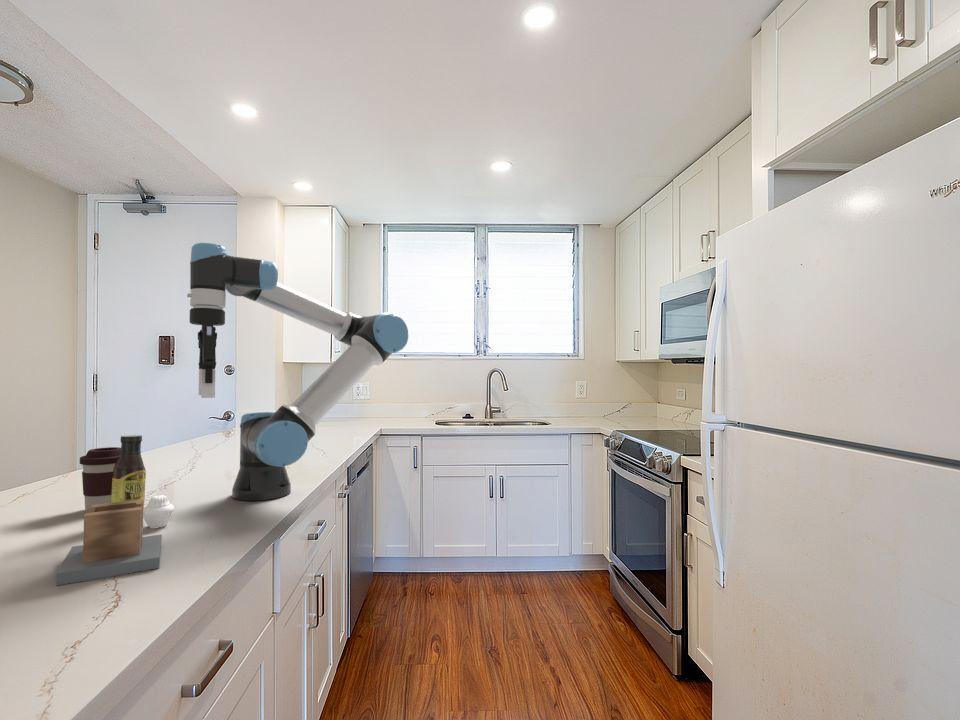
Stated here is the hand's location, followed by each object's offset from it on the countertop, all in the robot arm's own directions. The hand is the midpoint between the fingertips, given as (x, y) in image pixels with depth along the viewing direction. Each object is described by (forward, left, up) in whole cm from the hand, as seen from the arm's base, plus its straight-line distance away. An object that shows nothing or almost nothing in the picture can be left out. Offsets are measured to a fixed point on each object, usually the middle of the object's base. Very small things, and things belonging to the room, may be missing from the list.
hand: (206, 396), depth 119 cm
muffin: (+9, +4, -29) cm, 31 cm away
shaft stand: (+15, +25, -29) cm, 41 cm away
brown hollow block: (+15, +25, -27) cm, 39 cm away
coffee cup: (+21, -18, -29) cm, 40 cm away
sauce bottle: (+15, -2, -29) cm, 33 cm away
